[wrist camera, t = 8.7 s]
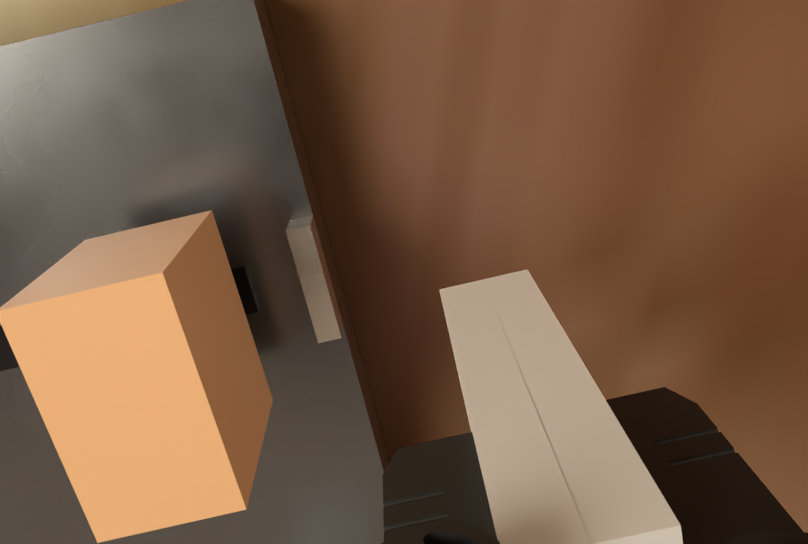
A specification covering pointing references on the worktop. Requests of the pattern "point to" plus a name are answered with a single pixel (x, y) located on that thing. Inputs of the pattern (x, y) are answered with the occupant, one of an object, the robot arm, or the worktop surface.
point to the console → (241, 236)
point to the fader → (145, 375)
